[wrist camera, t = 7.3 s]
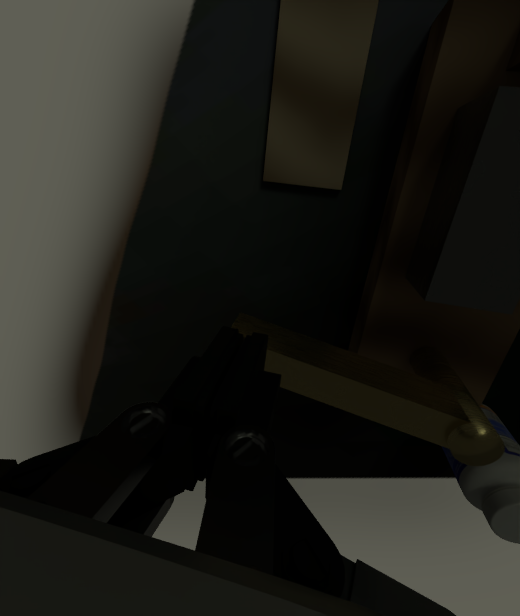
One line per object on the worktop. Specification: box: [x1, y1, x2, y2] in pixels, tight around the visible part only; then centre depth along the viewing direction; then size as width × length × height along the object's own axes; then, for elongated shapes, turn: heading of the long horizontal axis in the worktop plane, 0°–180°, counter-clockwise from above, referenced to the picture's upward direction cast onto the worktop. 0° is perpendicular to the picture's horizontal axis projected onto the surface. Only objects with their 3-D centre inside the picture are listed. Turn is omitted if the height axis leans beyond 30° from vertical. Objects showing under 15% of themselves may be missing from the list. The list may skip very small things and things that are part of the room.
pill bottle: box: [442, 404, 520, 544], centre depth 25 cm, size 5×5×10 cm
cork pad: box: [263, 0, 379, 190], centre depth 21 cm, size 12×6×1 cm, turn 174°
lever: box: [231, 313, 505, 466], centre depth 19 cm, size 15×2×9 cm, turn 73°
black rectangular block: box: [405, 86, 520, 315], centre depth 17 cm, size 10×4×4 cm, turn 174°
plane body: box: [348, 0, 520, 407], centre depth 19 cm, size 26×10×9 cm, turn 174°
